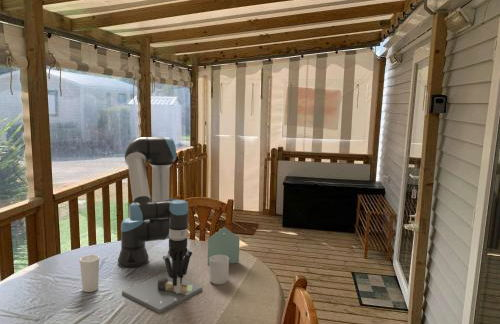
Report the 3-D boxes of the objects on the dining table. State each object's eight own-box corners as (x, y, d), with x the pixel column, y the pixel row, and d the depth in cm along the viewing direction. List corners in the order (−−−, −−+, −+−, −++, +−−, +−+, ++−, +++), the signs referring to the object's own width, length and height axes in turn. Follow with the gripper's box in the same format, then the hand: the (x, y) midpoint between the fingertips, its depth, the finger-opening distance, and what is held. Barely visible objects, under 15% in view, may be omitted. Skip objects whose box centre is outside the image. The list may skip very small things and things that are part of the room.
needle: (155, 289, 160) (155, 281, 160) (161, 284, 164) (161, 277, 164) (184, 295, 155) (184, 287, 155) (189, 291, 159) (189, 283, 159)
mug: (226, 286, 169) (227, 262, 168) (207, 284, 170) (208, 261, 168) (230, 274, 181) (231, 252, 180) (212, 273, 182) (213, 251, 180)
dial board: (122, 294, 159) (121, 290, 159) (165, 275, 178) (165, 271, 178) (159, 313, 145) (159, 309, 145) (202, 290, 164) (202, 286, 164)
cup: (104, 287, 164) (103, 256, 162) (91, 295, 157) (90, 263, 155) (89, 283, 167) (88, 253, 165) (76, 291, 160) (74, 260, 158)
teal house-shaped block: (236, 257, 203) (237, 222, 200) (238, 263, 195) (240, 226, 192) (206, 258, 200) (207, 222, 197) (207, 264, 192) (208, 227, 190)
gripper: (168, 243, 147) (167, 299, 149) (196, 237, 155) (194, 291, 158) (159, 238, 152) (158, 292, 155) (186, 232, 161) (185, 284, 163)
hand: (177, 291), depth 156 cm, fingers closed
